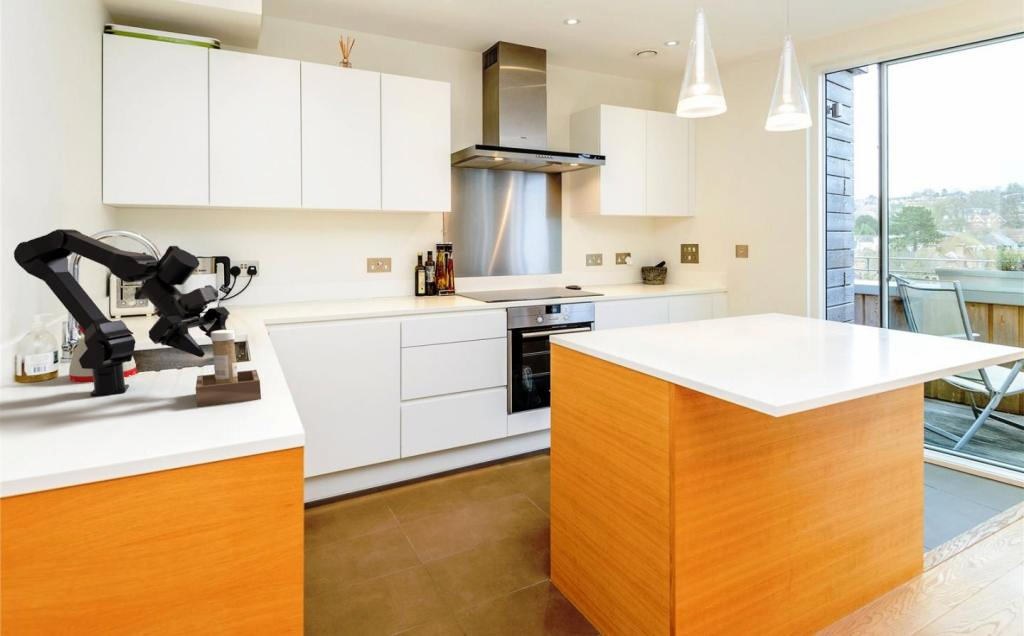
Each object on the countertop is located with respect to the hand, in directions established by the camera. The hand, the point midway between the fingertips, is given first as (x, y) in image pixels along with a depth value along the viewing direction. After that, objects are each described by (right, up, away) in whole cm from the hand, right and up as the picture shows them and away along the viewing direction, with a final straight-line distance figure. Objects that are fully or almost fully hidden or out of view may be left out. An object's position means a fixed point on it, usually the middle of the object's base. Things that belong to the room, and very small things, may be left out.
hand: (217, 351), depth 124 cm
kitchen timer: (-40, -8, +22) cm, 47 cm away
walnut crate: (+2, -10, +1) cm, 10 cm away
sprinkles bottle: (+2, -9, +1) cm, 9 cm away
